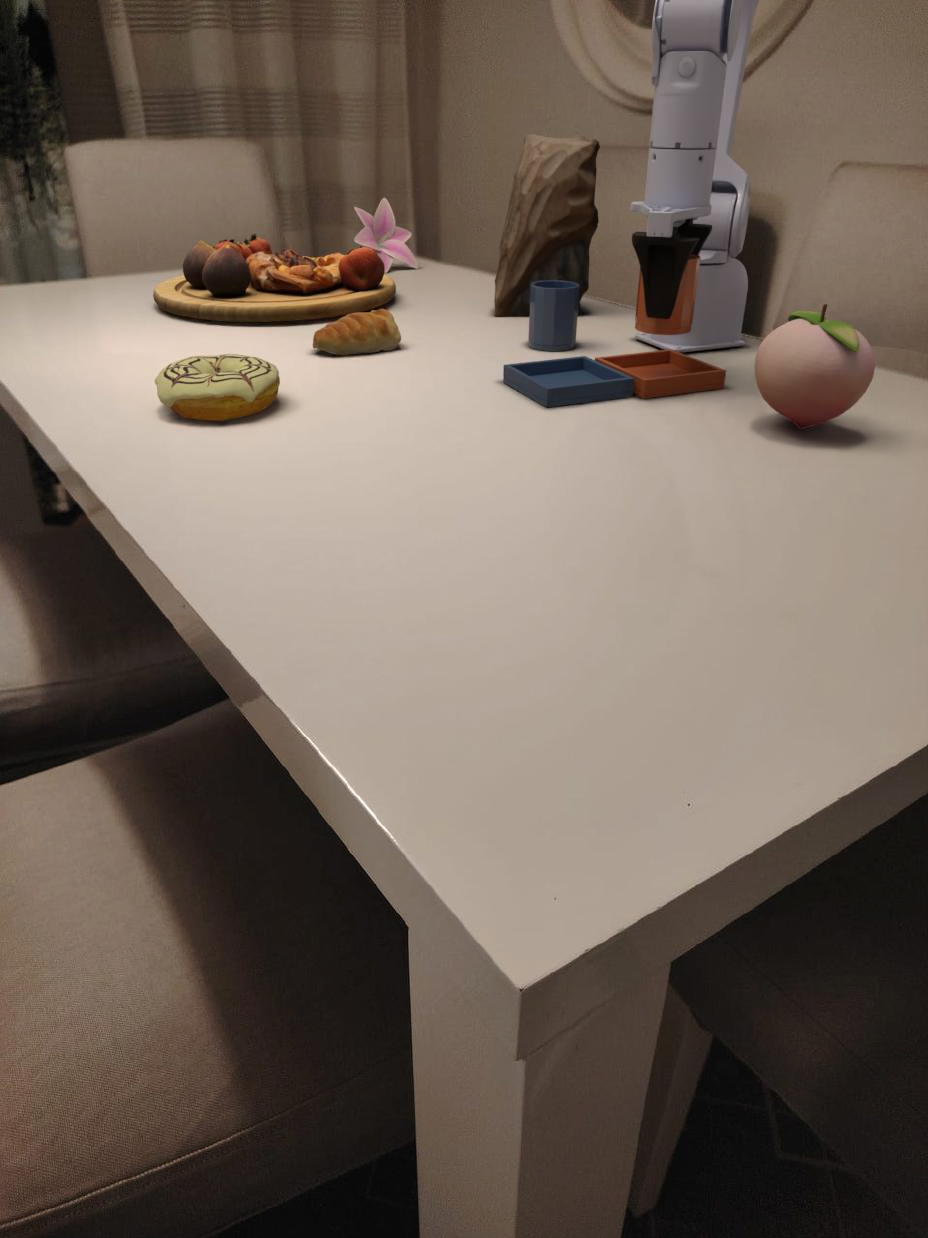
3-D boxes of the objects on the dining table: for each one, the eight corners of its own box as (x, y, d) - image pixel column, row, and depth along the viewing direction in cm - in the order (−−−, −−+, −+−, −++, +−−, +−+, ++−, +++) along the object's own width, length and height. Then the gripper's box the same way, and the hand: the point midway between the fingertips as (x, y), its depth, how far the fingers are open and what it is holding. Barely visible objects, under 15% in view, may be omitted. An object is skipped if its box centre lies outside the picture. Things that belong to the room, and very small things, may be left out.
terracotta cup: (669, 321, 89) (677, 250, 85) (702, 332, 84) (712, 257, 81) (624, 325, 87) (630, 253, 84) (655, 337, 83) (663, 261, 79)
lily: (343, 281, 141) (365, 225, 135) (329, 240, 148) (349, 185, 142) (411, 300, 148) (435, 247, 141) (394, 260, 154) (417, 208, 148)
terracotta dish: (669, 365, 93) (671, 349, 92) (723, 388, 86) (726, 370, 85) (593, 374, 90) (594, 357, 89) (643, 398, 83) (645, 380, 82)
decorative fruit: (722, 418, 78) (740, 297, 73) (798, 408, 81) (820, 290, 76) (797, 453, 70) (823, 320, 65) (878, 439, 73) (908, 311, 68)
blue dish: (583, 372, 91) (585, 355, 90) (632, 396, 84) (634, 378, 83) (502, 382, 88) (503, 364, 87) (546, 407, 80) (547, 388, 80)
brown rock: (504, 297, 125) (508, 132, 115) (596, 300, 123) (608, 133, 113) (489, 315, 114) (492, 136, 104) (590, 320, 112) (603, 137, 102)
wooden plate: (442, 294, 127) (441, 230, 123) (287, 338, 103) (280, 261, 99) (272, 273, 142) (266, 215, 138) (103, 307, 118) (90, 239, 114)
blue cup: (560, 338, 104) (564, 278, 100) (584, 348, 100) (588, 286, 96) (520, 342, 102) (522, 281, 99) (542, 353, 98) (544, 289, 94)
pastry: (333, 361, 94) (330, 323, 92) (300, 349, 99) (297, 313, 97) (406, 348, 99) (405, 312, 98) (372, 337, 104) (370, 302, 102)
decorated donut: (147, 426, 75) (139, 381, 74) (174, 390, 85) (167, 349, 83) (273, 423, 76) (268, 378, 74) (286, 388, 85) (282, 347, 83)
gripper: (653, 143, 85) (638, 294, 92) (617, 150, 73) (604, 323, 80) (729, 145, 83) (709, 299, 90) (705, 152, 71) (684, 329, 78)
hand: (664, 311), depth 85 cm, fingers closed on terracotta cup, 5 cm apart
